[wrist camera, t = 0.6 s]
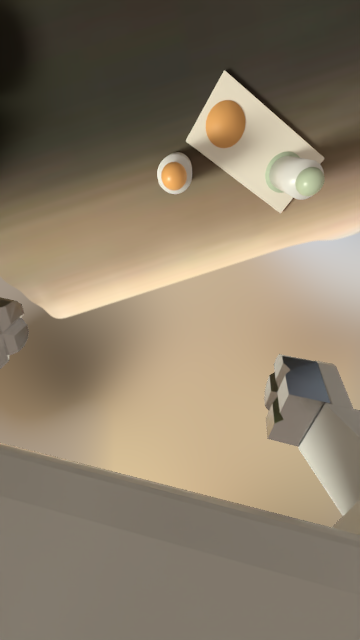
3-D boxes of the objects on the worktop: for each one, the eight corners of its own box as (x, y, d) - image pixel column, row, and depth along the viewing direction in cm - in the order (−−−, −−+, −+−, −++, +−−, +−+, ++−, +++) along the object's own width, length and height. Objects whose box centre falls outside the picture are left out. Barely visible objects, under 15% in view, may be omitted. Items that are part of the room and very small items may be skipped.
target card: (223, 71, 40) (224, 69, 40) (322, 158, 46) (325, 158, 45) (185, 141, 45) (185, 141, 44) (279, 212, 50) (280, 213, 50)
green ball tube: (283, 149, 44) (315, 152, 33) (305, 167, 46) (343, 177, 34) (263, 177, 47) (286, 189, 35) (284, 194, 48) (313, 211, 37)
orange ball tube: (172, 145, 45) (167, 147, 34) (197, 163, 47) (199, 171, 35) (157, 173, 48) (147, 184, 36) (181, 190, 49) (179, 205, 38)
